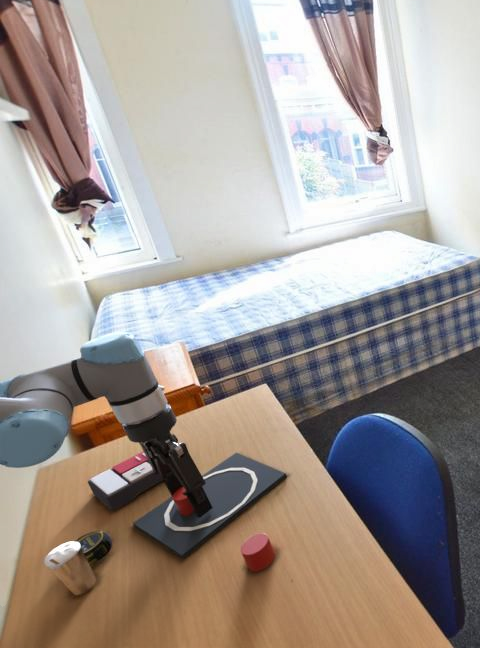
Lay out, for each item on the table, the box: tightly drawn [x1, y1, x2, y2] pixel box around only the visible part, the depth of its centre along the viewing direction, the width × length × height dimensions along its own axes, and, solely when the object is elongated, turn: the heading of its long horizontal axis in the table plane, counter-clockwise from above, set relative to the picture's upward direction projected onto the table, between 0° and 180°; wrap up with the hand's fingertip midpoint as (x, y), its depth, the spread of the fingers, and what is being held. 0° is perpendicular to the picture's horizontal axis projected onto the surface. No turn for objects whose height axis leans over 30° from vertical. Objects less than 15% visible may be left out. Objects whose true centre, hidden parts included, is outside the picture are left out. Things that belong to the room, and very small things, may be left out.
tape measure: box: [73, 529, 114, 567], centre depth 86 cm, size 7×7×4 cm
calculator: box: [87, 450, 164, 512], centre depth 105 cm, size 11×4×15 cm
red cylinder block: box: [171, 487, 195, 515], centre depth 94 cm, size 4×4×4 cm
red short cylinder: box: [240, 532, 276, 572], centre depth 82 cm, size 4×4×4 cm
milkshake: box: [43, 541, 97, 596], centre depth 79 cm, size 4×5×10 cm
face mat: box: [132, 452, 287, 560], centre depth 97 cm, size 22×18×1 cm
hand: (194, 506), depth 94 cm, fingers open, 7 cm apart
